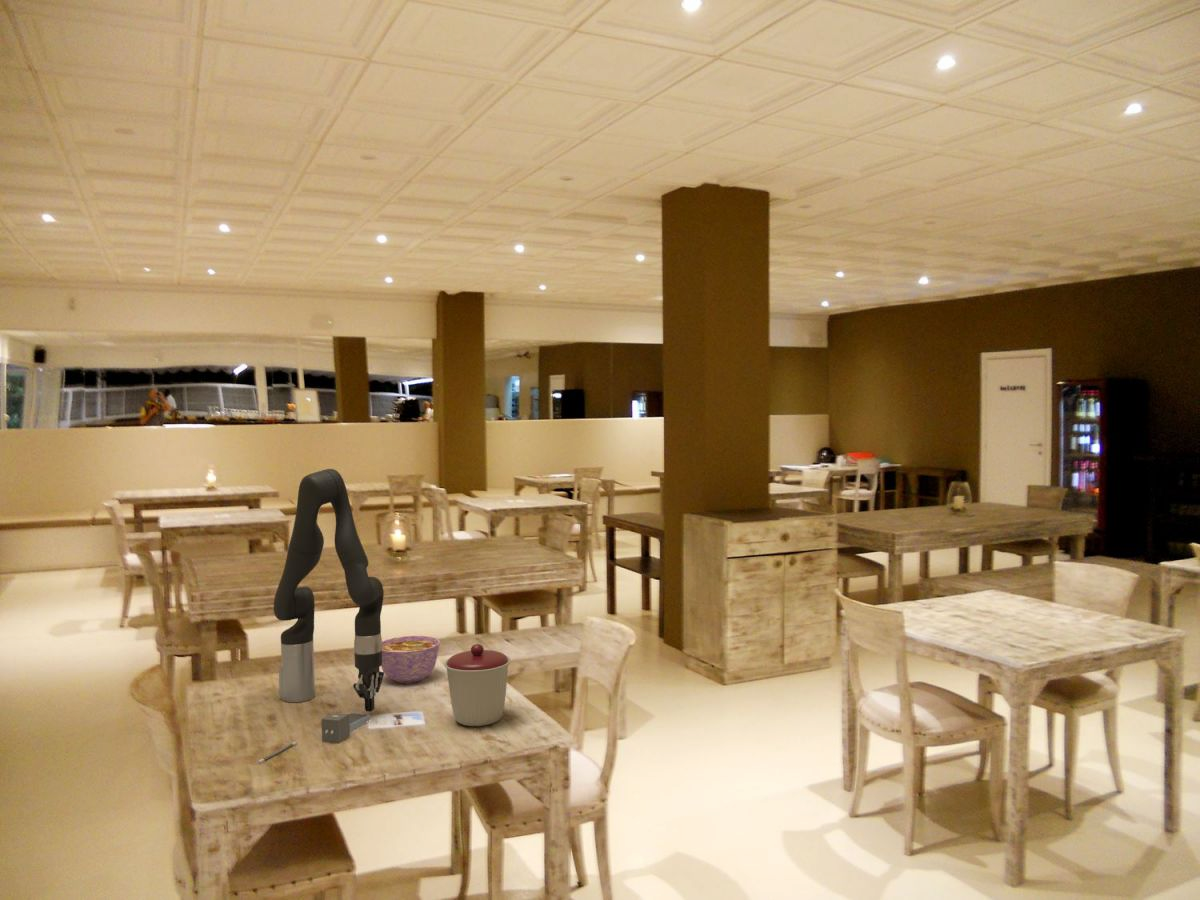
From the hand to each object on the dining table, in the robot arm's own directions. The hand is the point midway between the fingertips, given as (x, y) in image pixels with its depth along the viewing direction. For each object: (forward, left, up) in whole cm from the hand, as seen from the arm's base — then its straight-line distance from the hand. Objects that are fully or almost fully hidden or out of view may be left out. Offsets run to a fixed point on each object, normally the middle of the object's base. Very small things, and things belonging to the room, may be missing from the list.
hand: (369, 710), depth 240 cm
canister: (+31, +4, -2) cm, 32 cm away
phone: (-2, -8, -2) cm, 9 cm away
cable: (-9, -29, -2) cm, 30 cm away
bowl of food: (-6, +34, -2) cm, 34 cm away
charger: (0, -17, -2) cm, 17 cm away
